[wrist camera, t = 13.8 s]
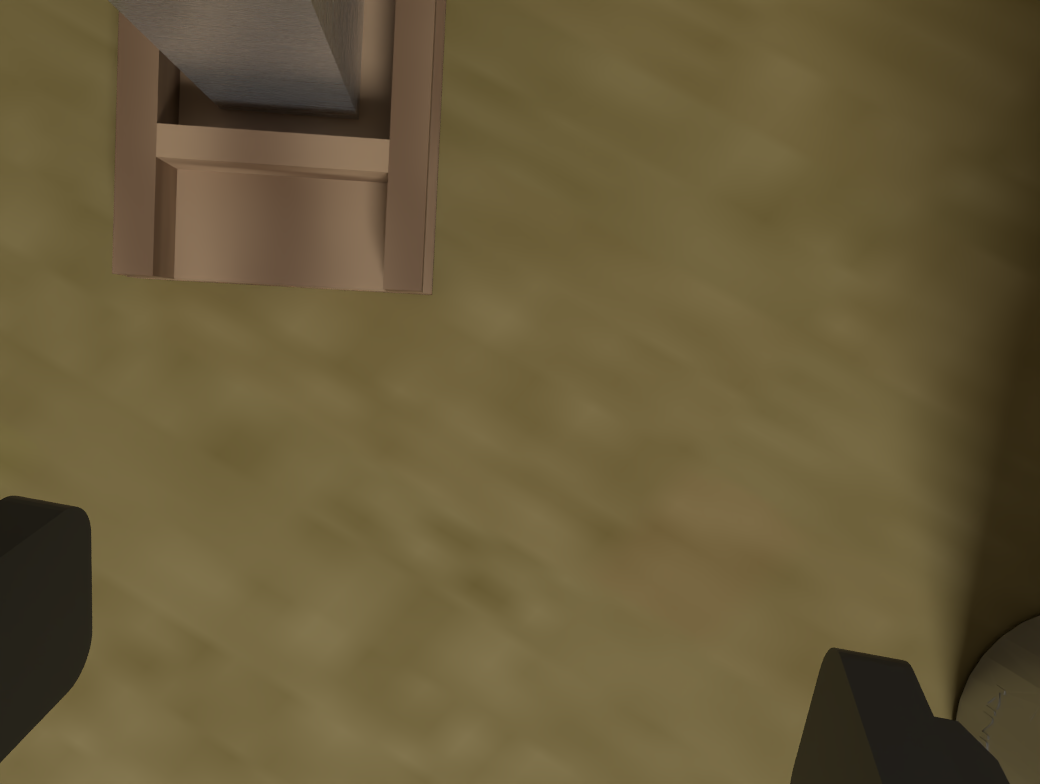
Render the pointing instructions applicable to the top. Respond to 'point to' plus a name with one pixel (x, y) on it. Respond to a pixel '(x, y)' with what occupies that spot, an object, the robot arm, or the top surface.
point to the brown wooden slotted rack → (284, 171)
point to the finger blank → (262, 51)
